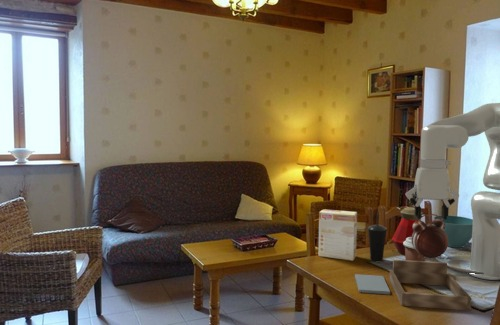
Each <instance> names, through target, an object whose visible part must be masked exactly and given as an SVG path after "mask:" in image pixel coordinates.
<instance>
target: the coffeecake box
mask: <svg viewBox="0 0 500 325" xmlns="http://www.w3.org/2000/svg"><path fill="white" fill-rule="evenodd" d="M318 213H319V214H318V216H319V217H318V254H317V255H318V257H323V258H332V259H338V260H344V261H354V260H355V258H356V257H357V235H358V234H357V229H358V227H357V225H358V223H357V222H358V212H357V211H349V210H336V209H326V208H325V209H322V210H320V211H319V212H318Z"/></svg>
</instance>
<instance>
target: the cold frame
mask: <svg viewBox="0 0 500 325" xmlns="http://www.w3.org/2000/svg"><path fill="white" fill-rule="evenodd" d="M389 283H390V285H391V287H392V289H393V291H394V292H395V295H396V297H397V299H398V301H399V303H400V305H401V306H402V307H403V306H404V307H415V308H416V307H417V308H431V309H441V310H442V309H445V310H457V311H458V310H459V311H460V310H461V311H469V312H470V311H471V310H472V309H471V308H472V305H471V304H472V297H471V296H470V295H469V293H467V291H465V289H464V288H463V287H462V286H461V285H460V284H459V283H458V282H457V281H456V280H455V279H454V278H453V277H452V275H451V274H450V273H448V263H447V262H443V261H409V260H406V259H403V260H402V259H392V270H389ZM402 284H415V285H429V286H430V285H431V286H446V287H447V288H448V289H449V291H450V292H451V293H452V294H453V295H451V294H441V293H440V294H439V293H425V292H424V293H421V292H411V291H410V292H408V291H405V290H404V287H403V286H402Z"/></svg>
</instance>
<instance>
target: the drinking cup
mask: <svg viewBox="0 0 500 325" xmlns="http://www.w3.org/2000/svg"><path fill="white" fill-rule="evenodd" d="M379 216H380V213H379V212H377V213H376V224H372V225H369V226H368V227H367V230H368V239H369V255H370V261H371V262H376V261H381V262H383V261H384V260H383V258H384V254H385V246H386V245H385V244H386V238H387V237H386V236H387V231H388V228H387V227H385V226H384V225H381V224H379V222H380V221H379V220H380V217H379Z"/></svg>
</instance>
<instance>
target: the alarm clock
mask: <svg viewBox="0 0 500 325" xmlns="http://www.w3.org/2000/svg"><path fill="white" fill-rule="evenodd" d="M428 216H433V217H435V216H437V218H438V219H435V220H434V219H433V220H432V221H428V222H427V223H425V221H424V220H422V218H424V217H428ZM438 216H439V215H437V214H435V213H434V214H433V213H428V214H427V213H426V214H422V216H421V219H419V220H418V221H416V220H415V223H414V224H413V226H412V227H413V231H414V233H413V235H412V245H413V247H414V248H415V250H416V251H417V252H418V253H419V256H420V255H423V258H422V259H423V260H424V258H425V259H426V258H428V259H436V258H438V257H439V258H440V259H443V257H442V256H443V255H444V253H445V252H446V251H447V249H448V247H449V246H448V236H447V234H446V233H445V232H444V231H443V230H445V226H446V225H445V223H444V221H442V220H443V219H442V218H441V219H440V218H439V217H438ZM420 220H421V221H420ZM442 229H443V230H442ZM419 256H418V258H419Z"/></svg>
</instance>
